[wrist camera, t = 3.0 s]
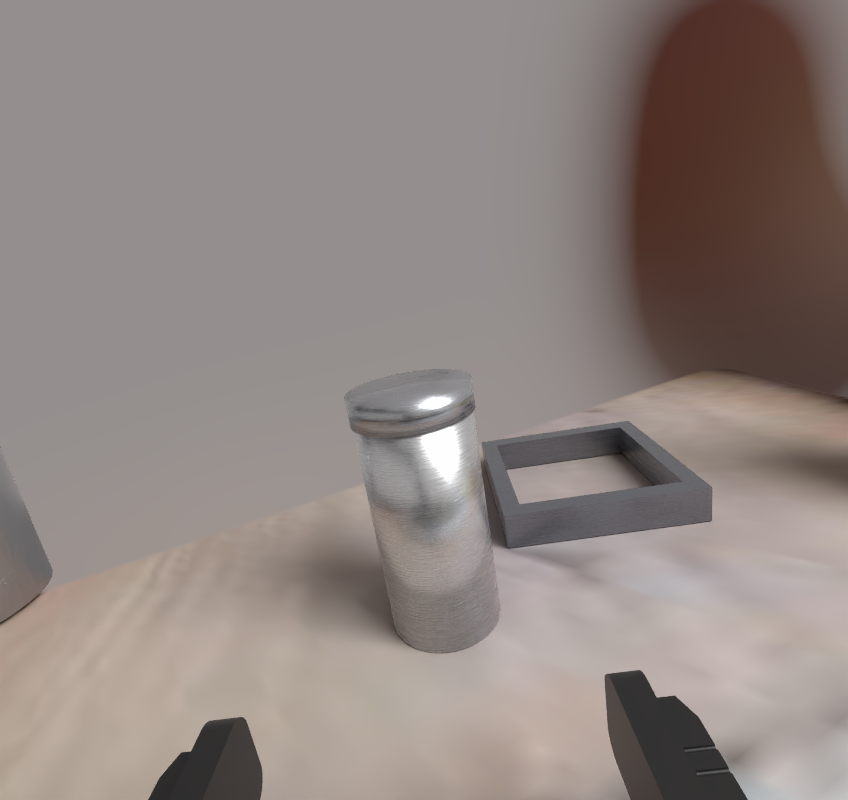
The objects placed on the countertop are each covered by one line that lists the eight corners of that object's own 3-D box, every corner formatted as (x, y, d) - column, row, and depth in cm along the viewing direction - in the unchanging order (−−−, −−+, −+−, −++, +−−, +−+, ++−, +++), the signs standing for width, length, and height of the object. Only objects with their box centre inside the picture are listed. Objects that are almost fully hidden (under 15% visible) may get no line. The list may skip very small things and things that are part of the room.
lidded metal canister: (369, 635, 22) (317, 405, 19) (426, 567, 26) (390, 370, 23) (474, 670, 19) (432, 408, 16) (518, 587, 23) (491, 367, 20)
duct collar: (508, 548, 27) (504, 516, 26) (484, 466, 37) (481, 442, 37) (711, 520, 26) (712, 487, 26) (629, 445, 37) (628, 421, 36)
